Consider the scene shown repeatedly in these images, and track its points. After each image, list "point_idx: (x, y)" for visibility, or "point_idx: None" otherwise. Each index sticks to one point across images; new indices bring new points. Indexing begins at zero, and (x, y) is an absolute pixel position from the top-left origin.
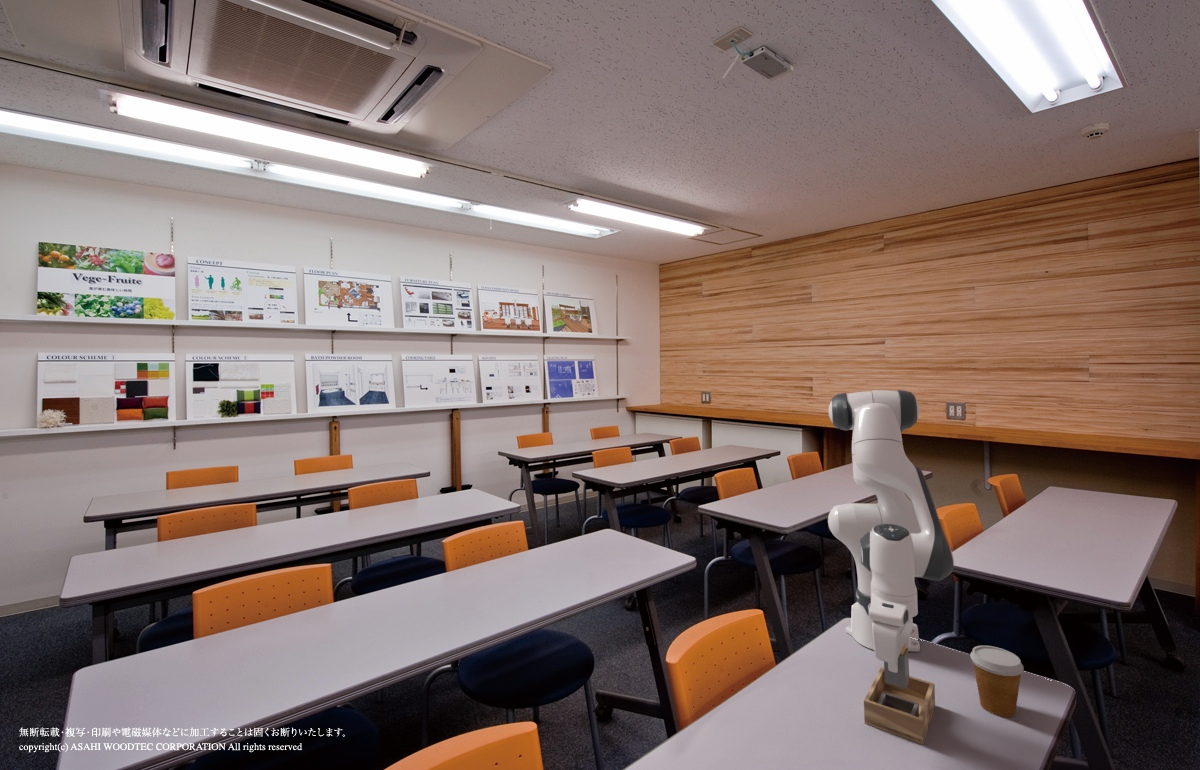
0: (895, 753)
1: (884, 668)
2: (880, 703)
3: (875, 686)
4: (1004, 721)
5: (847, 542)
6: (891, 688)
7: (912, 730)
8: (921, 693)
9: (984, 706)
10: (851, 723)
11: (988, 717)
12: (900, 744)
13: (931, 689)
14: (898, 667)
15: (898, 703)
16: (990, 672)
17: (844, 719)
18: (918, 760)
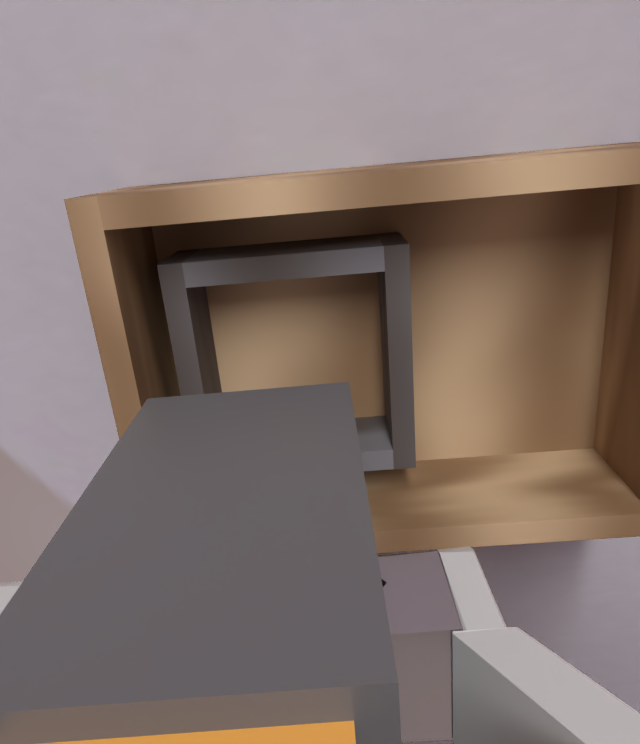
0: (10, 400)
1: (95, 481)
2: (235, 275)
3: (357, 206)
4: (633, 689)
5: None
6: (615, 225)
7: None
8: (613, 419)
9: None
10: (61, 116)
11: (630, 643)
12: (102, 400)
13: (579, 534)
14: None
15: (384, 343)
16: None
17: (63, 58)
18: (51, 489)
